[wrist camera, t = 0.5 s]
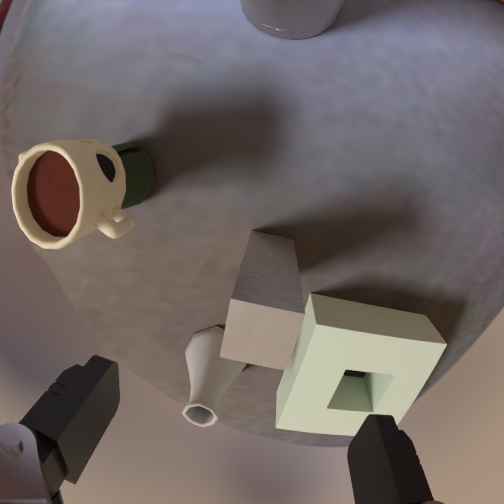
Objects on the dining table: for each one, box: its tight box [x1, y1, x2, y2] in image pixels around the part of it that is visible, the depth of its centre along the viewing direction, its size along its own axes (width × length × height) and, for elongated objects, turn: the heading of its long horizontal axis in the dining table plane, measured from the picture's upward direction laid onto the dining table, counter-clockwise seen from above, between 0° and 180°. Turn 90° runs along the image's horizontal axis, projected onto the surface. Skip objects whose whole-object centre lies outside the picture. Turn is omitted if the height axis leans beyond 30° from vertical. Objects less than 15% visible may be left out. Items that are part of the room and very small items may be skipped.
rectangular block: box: [220, 230, 305, 370], centre depth 24 cm, size 4×4×14 cm
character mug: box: [11, 139, 155, 249], centre depth 23 cm, size 11×7×13 cm, turn 54°
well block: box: [276, 293, 447, 436], centre depth 31 cm, size 14×14×6 cm
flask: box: [182, 326, 247, 427], centre depth 30 cm, size 7×7×10 cm
